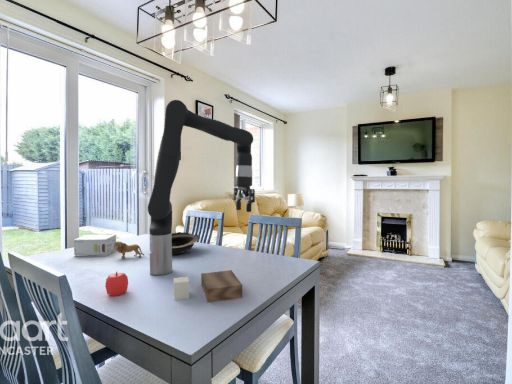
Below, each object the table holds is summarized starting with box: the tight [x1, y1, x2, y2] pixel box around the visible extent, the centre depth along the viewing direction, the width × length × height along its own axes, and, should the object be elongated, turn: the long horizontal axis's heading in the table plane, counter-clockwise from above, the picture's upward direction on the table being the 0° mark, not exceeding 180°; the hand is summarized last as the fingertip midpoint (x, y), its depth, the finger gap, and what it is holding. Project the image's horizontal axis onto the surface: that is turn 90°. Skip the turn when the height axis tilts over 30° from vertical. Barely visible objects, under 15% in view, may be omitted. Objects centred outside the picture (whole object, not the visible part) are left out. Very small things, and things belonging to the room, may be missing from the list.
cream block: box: [173, 276, 190, 301], centre depth 98 cm, size 5×5×6 cm
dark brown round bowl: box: [172, 231, 201, 256], centre depth 157 cm, size 25×25×9 cm
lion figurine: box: [114, 240, 145, 260], centre depth 146 cm, size 15×5×9 cm, turn 113°
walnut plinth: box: [200, 269, 243, 303], centre depth 102 cm, size 12×16×5 cm
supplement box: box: [73, 234, 117, 256], centre depth 155 cm, size 17×13×9 cm
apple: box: [104, 271, 129, 297], centre depth 100 cm, size 8×8×8 cm
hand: (243, 210), depth 128 cm, fingers open, 8 cm apart
